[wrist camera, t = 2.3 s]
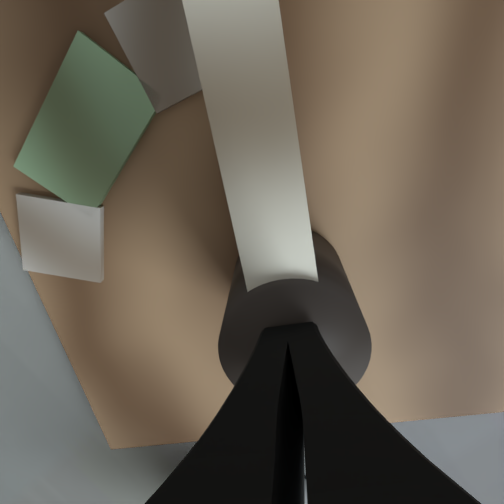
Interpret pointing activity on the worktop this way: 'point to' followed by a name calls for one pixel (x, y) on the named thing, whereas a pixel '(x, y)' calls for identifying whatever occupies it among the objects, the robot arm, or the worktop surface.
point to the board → (216, 206)
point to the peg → (267, 190)
